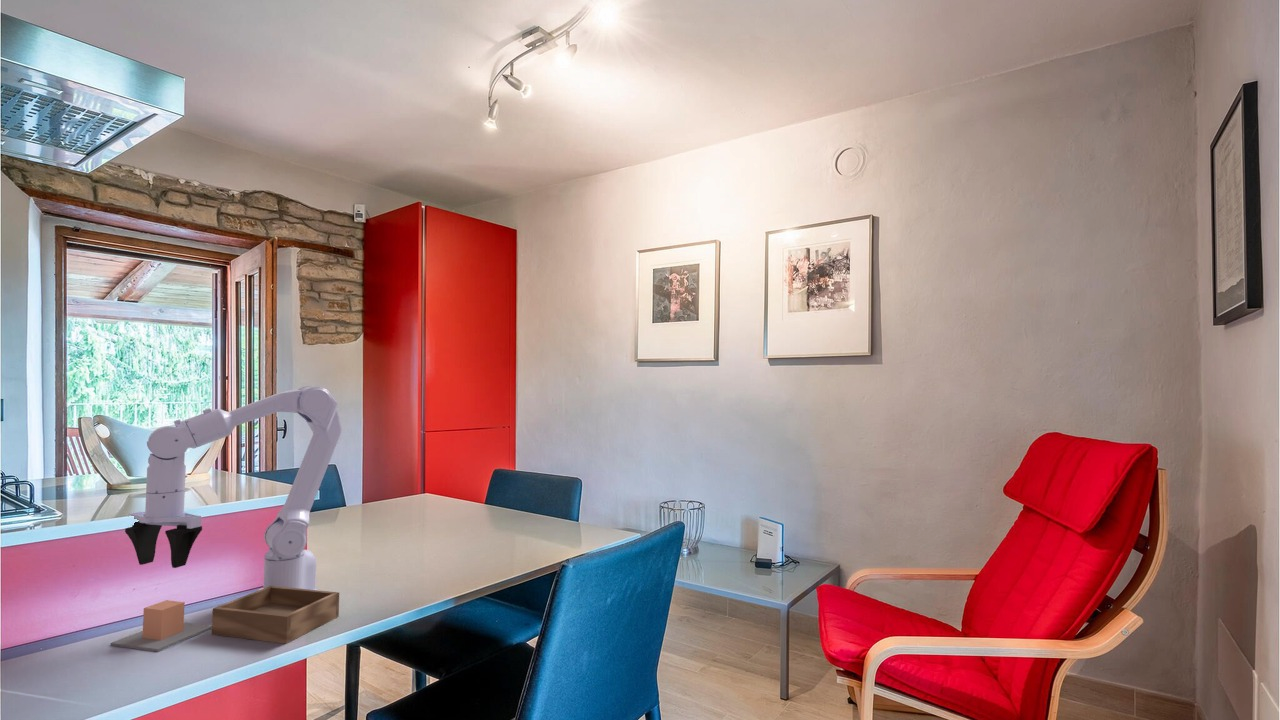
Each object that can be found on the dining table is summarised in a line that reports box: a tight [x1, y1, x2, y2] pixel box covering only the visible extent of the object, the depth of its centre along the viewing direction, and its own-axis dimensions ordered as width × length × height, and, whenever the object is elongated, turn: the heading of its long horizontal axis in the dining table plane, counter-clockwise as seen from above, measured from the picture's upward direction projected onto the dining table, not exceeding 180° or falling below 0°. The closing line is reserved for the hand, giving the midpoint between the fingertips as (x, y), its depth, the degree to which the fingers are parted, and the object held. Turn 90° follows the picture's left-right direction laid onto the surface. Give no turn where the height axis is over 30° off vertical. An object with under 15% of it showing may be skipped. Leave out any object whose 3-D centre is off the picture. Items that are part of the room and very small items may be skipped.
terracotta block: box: [142, 599, 185, 640], centre depth 106 cm, size 4×4×5 cm
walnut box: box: [211, 586, 340, 644], centre depth 111 cm, size 13×16×4 cm
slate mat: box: [110, 622, 212, 653], centre depth 106 cm, size 10×10×1 cm
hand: (162, 564), depth 113 cm, fingers open, 7 cm apart
